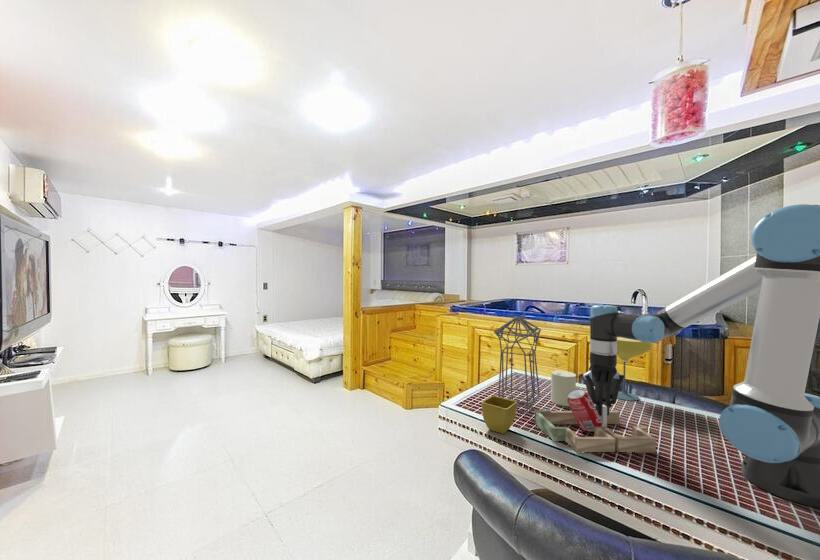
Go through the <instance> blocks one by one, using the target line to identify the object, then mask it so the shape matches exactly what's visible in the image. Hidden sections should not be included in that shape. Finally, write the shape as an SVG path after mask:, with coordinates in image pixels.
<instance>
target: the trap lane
mask: <svg viewBox="0 0 820 560" xmlns="http://www.w3.org/2000/svg"><path fill="white" fill-rule="evenodd" d="M620 413H621V412H620V411H619V410H609V415H607V425H620V420H621V419H620V418H621V417H620V416H621V415H620ZM533 420H534V424H535V425H536V426H537V427H538V429H540V430H541V431H542V432H543V433H544V434H545V435H546V434H547V435H548V436H549V437H550V438H551V439H552V440H553V441H566V442H567V443H568V444H569V445H570V446H571V447H572V448H574V449H575V450H576V451H577V452H615V453H616V452H617V451H618V452H627V453H629V454H632V452H633V454H635V453H636V454H637V453H639V454H642V453H643V454H645V453H647V454H648V453H649V454H651V453H653V454H654V453H656V450H657V449H656V448H657V446H656V445H657V441H656V440H657V439H656V437H654V436H653V435H651V434H650V433H648V427H647V426H644V425H643V426H642V425H641V426H638V425H637V426H634V425H633V426H632V427H631V436H620V435H618V434H617V433H616V432H614V431H612V430H611V429H610V428H609V427H608V426H607V427H602V426H601V427H594V431H593V432H594V433H593V434H594V435H593V436H579V435H577V434H576V432H574V431H573V430H572V429H570V428H569V426H555V425H579V424H578V422H577V420H576V418H575V416H574V414H573V412H572V410H550V409H537V410H536V411H535V410H534V418H533ZM547 435H546V436H547ZM548 436H547V437H548ZM549 437H548V438H549ZM550 438H549V439H550ZM551 439H550V440H551ZM552 440H551V441H552ZM553 441H552V442H553ZM566 442H565V443H566ZM567 443H566V444H567ZM568 444H567V445H568ZM569 445H568V446H569ZM570 446H569V447H570ZM571 447H570V448H571ZM572 448H571V449H572ZM575 450H574V451H575ZM576 451H575V452H576ZM577 452H576V453H577ZM618 452H617V453H618ZM634 452H635V453H634ZM627 453H626V454H627Z"/></svg>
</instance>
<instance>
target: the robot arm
mask: <svg viewBox="0 0 820 560" xmlns="http://www.w3.org/2000/svg"><path fill="white" fill-rule="evenodd" d="M750 242H751V245H752V247H753V249H754V251H755V252H756V255H754V256H753V257H750V258H749V259H748V260H746V261H744V262H742V263H740V264H738V265H737V266H735V267H733V268H731V269H729V270H728V271H726V272H725V273H723V274H721V275H720V276H717V277H715V278H714V279H712V280H711V281H709V282H707V283H705V284H703V285H702V286H700V287H699V288H697V289H694V290H693V291H691V292H690V293H688V294H686V295H684V296H682V297H681V298H678V299H677V300H676V301H673V302H672V303H671V304H668V305H667V306H665V307H663V308H661V309H659V310H658V311H656V312H654V313H647V314H646V313H644V314H643V313H642V314H635V313H634V314H633V313H622V312H619V311H618V307H617V306H615V305H608V304H593V305H592V306H591V307H590V315H589V327H590V328H589V329H590V331H589V333H590V335H589V351H590V352H589V363H590V364H589V367H588V371H587V372H582V373H581V377H582V378H583V380H584V383H585V388H586V391H587V392H586V393H588V394H589V396H590V397H591V399H592V401H593V403H594V405H595V407H596V409H597V412H598V414H599V416H600V418H601V421H602V426H601V427H607V428H608V424H607V415H609V411H610V408H611V407H612V406H613V405H616V403H617V396H618V392H619V391H620V387H621V383H622V381H623V378H624V375H623V374H621V373H620V372H618V370H617V368H616V367H617V365H618V364H617V362H618V356H617V355H616V353H617V337H622V338H627V339H633V340H638V341H641V342H651V344H652V343H659V342H660V341H661V340H662V339H663V338H664V339H665V338H666V339H667V338H672V337H675V336H677V335H678V334H680V333H681V332H682V330H684V329H686V328H687V327H689V326H692V325H693V324H696V323H698V322H699V321H701V320H704V319H705V318H708V317H710V316H712V315H715V314H716V313H718V312H720V311H722V310H724V309H726V308H728V307H730V306H733V305H735V304H737V303H739V302H740V301H742V300H744V299H747V298H748V297H750V296H752V295H754V294H757V293H758V292H759V297H758V302H757V307H756V313H755V318H754V324H753V329H752V335H751V341H750V346H749V352H748V357H747V363H746V369H745V374H744V380H743V381H741V382H739V383H736V384H734V385H733V387H732V393H731V398H730V403H729V406H727V407H725V408H724V409H723V410H722V412H721V413H720V415H719V420H718V422H719V423H718V424H719V428H720V430H721V433H722V434H723V436H724V438H726V439H727V441H728V442H729V443H730V445H732V447H734V448H735V449H737V450H738V451H739V452H741V453H742V454H744V455H745V456H744V459H743V460H742V461H741V474H742V476H743V477H744V478H745V480H747V481H749V482H750V483H752V484H753V485H754V486H756V487H758V488H760V489H762V490H764V491H766V492H768V493H771V494H773V495H774V496H777V497H780V498H783V499H785V500H787V501H791V502H795V503H798V504H801V505H804V506H810V507H814V508H818V509H819V508H820V396H819V395H814V394H811V393H807V392H806V387H807V383H808V377H809V372H810V368H811V362H812V357H813V352H814V348H815V343H816V337H817V332H818V326H819V323H820V204H806V203H805V204H803V203H801V204H793V205H787V206H783V207H781V208H777V209H775V210H773V211H771V212H769V213H768V214H766V215H764V216H763V217H762V218H761V219H759V221H758V222H756V223H755V226H754V227H753V228H752V231H751V234H750Z"/></svg>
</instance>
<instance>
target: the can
mask: <svg viewBox="0 0 820 560" xmlns="http://www.w3.org/2000/svg"><path fill="white" fill-rule="evenodd" d="M550 374H551V377H550V378H551V385H550V402H551V403H553V404H556V405H558V406H561V407H570V406H569V403H568V401H567V399H568V397H567V393H568V392H569V391H571V390H574V389H577V388H576V385H577V383H576V382H577V374H576V373H574V372H571V371H566V370H559V369H558V370H552V371H551V372H550Z"/></svg>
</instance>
